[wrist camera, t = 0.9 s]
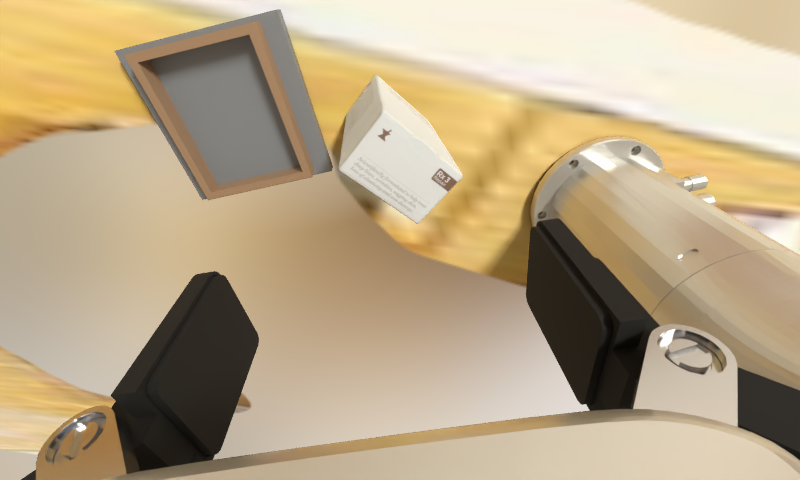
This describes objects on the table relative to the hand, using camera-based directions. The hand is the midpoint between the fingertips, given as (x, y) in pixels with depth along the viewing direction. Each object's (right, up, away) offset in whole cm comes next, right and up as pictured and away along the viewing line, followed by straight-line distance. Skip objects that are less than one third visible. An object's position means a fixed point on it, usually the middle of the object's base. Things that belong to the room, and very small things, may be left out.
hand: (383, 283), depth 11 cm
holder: (-13, +12, +17) cm, 24 cm away
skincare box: (0, +12, +19) cm, 22 cm away
